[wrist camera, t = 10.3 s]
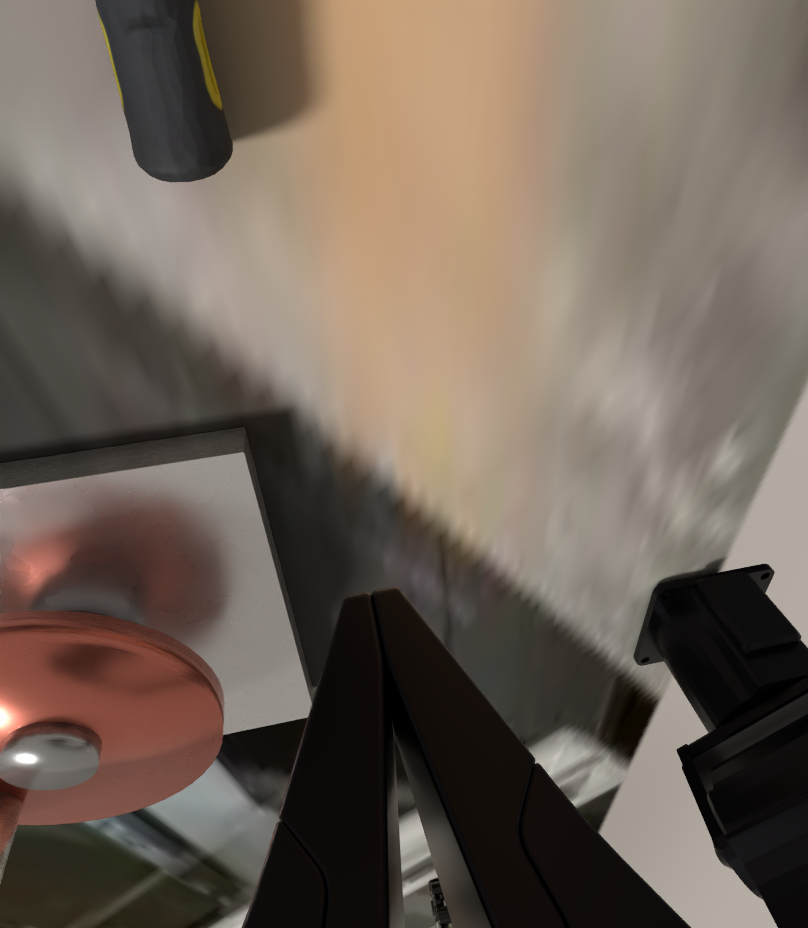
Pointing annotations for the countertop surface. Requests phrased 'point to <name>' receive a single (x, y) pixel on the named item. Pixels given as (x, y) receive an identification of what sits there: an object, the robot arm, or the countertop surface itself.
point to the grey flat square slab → (162, 558)
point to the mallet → (166, 87)
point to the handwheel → (98, 718)
